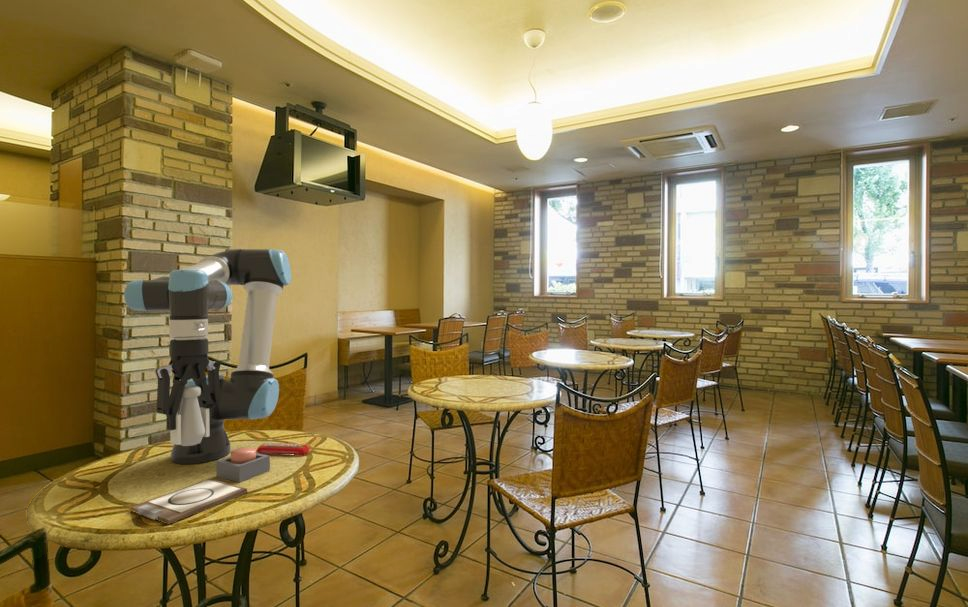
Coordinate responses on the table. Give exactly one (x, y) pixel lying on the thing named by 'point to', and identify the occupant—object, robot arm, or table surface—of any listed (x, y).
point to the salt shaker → (191, 417)
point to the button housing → (243, 468)
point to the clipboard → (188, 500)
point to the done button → (243, 455)
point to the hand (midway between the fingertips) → (190, 439)
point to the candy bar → (283, 448)
